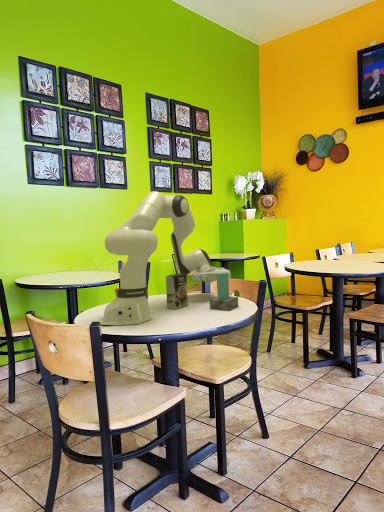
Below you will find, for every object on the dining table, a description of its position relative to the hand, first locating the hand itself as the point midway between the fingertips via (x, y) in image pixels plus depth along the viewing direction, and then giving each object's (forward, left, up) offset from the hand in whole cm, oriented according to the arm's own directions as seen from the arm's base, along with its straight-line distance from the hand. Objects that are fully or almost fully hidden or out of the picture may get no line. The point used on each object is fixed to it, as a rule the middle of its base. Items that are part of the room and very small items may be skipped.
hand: (215, 277), depth 199 cm
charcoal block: (0, -13, -14) cm, 19 cm away
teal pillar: (0, -13, -9) cm, 16 cm away
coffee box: (-20, -1, -13) cm, 24 cm away
